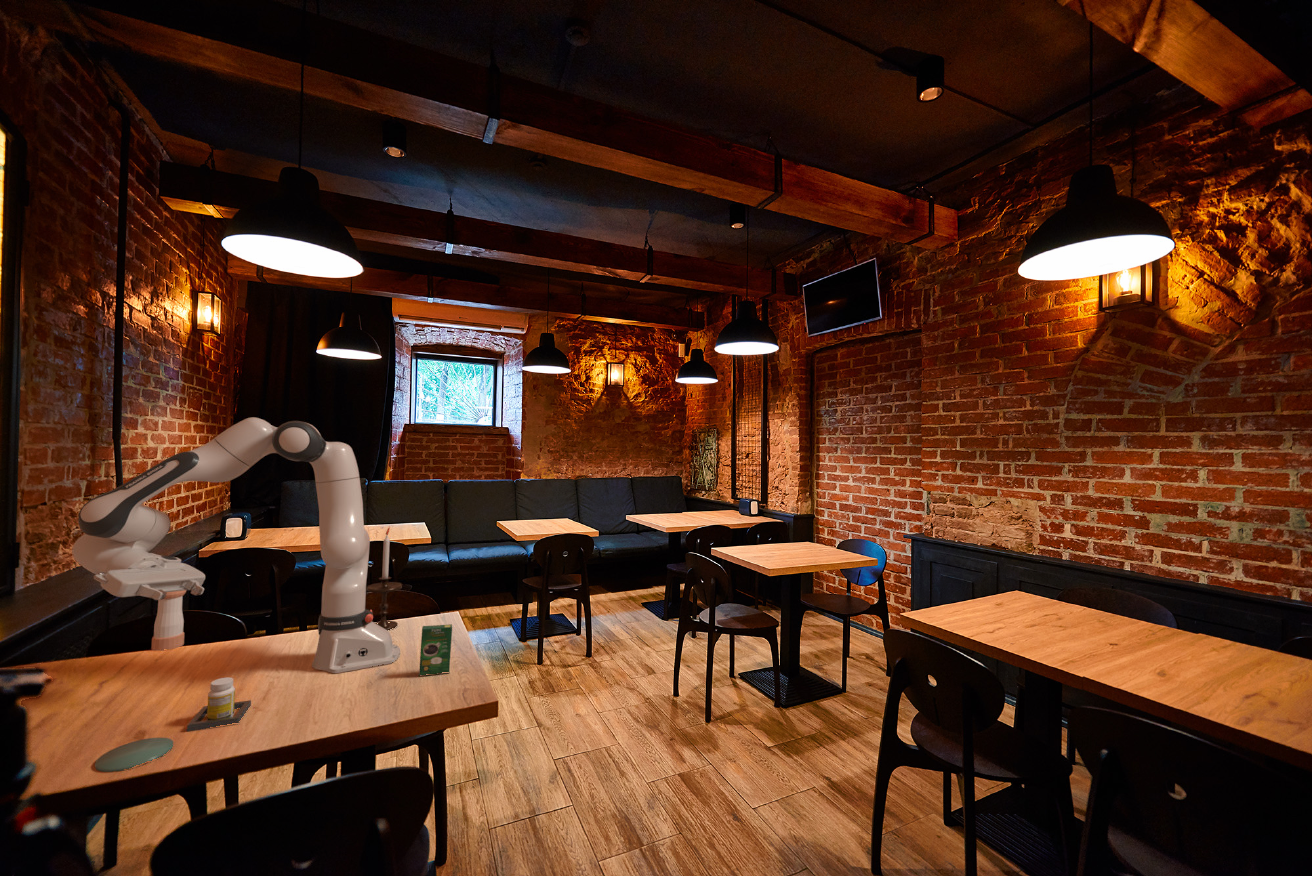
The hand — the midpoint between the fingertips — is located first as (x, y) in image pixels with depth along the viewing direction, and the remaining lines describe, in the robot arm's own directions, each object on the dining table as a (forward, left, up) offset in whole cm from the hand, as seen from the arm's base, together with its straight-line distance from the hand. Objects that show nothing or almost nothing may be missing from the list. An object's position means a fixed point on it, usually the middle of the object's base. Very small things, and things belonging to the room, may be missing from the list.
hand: (182, 594), depth 126 cm
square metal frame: (-12, +11, -26) cm, 31 cm away
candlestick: (-40, -46, -26) cm, 66 cm away
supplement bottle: (-12, +11, -26) cm, 31 cm away
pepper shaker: (+18, -47, -26) cm, 57 cm away
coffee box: (-57, +1, -26) cm, 63 cm away
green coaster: (-2, +23, -26) cm, 35 cm away
